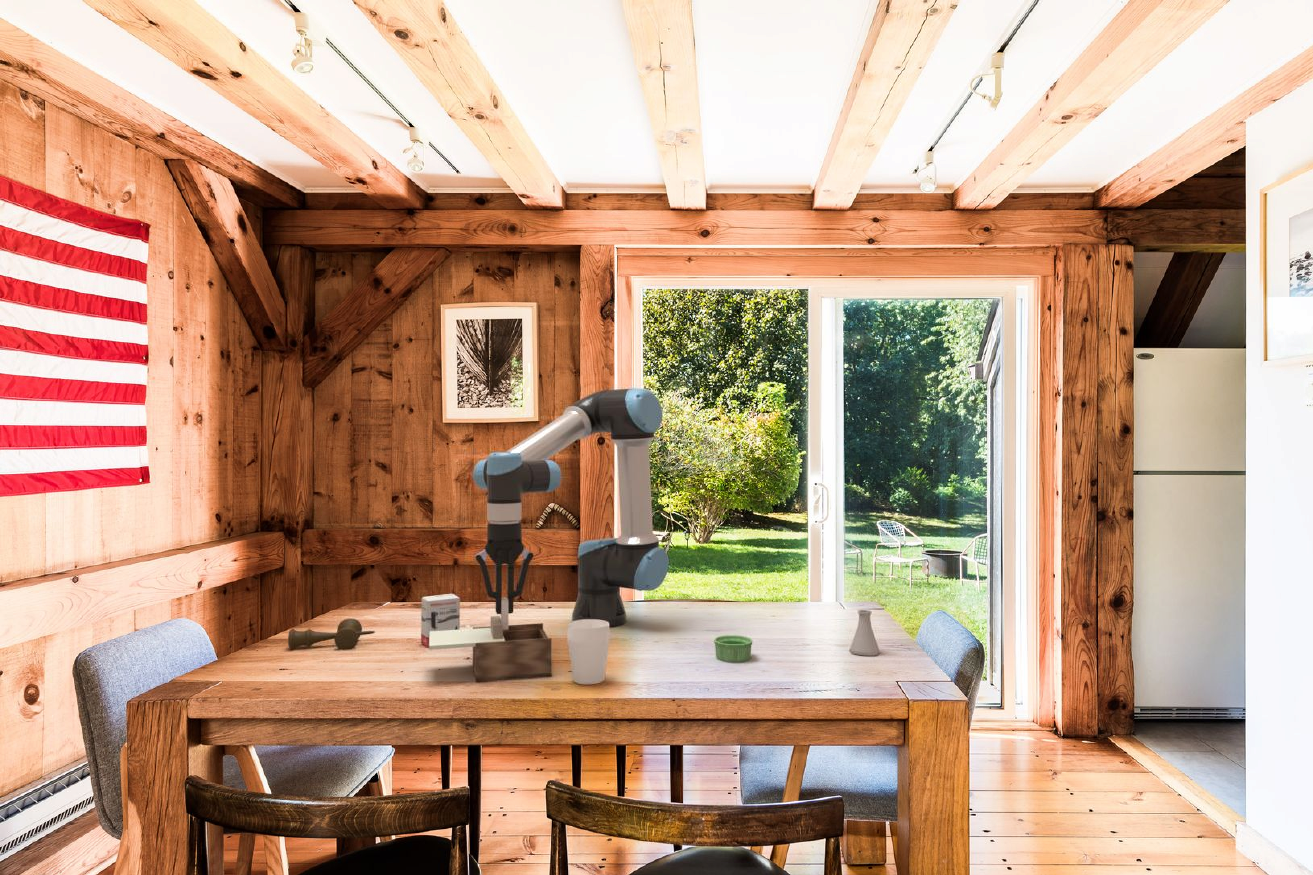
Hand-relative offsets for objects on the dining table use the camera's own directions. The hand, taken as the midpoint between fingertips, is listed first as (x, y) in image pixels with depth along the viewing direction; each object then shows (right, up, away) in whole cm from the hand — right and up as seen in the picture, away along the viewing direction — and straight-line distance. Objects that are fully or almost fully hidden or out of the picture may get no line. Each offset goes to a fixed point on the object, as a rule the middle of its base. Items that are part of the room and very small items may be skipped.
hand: (504, 628), depth 180 cm
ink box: (-20, -10, +24) cm, 33 cm away
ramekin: (+52, -10, +10) cm, 53 cm away
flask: (+84, -10, +14) cm, 85 cm away
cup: (+19, -10, -7) cm, 23 cm away
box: (+1, -9, 0) cm, 9 cm away
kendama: (-47, -10, +21) cm, 52 cm away
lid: (-8, -2, -2) cm, 8 cm away
